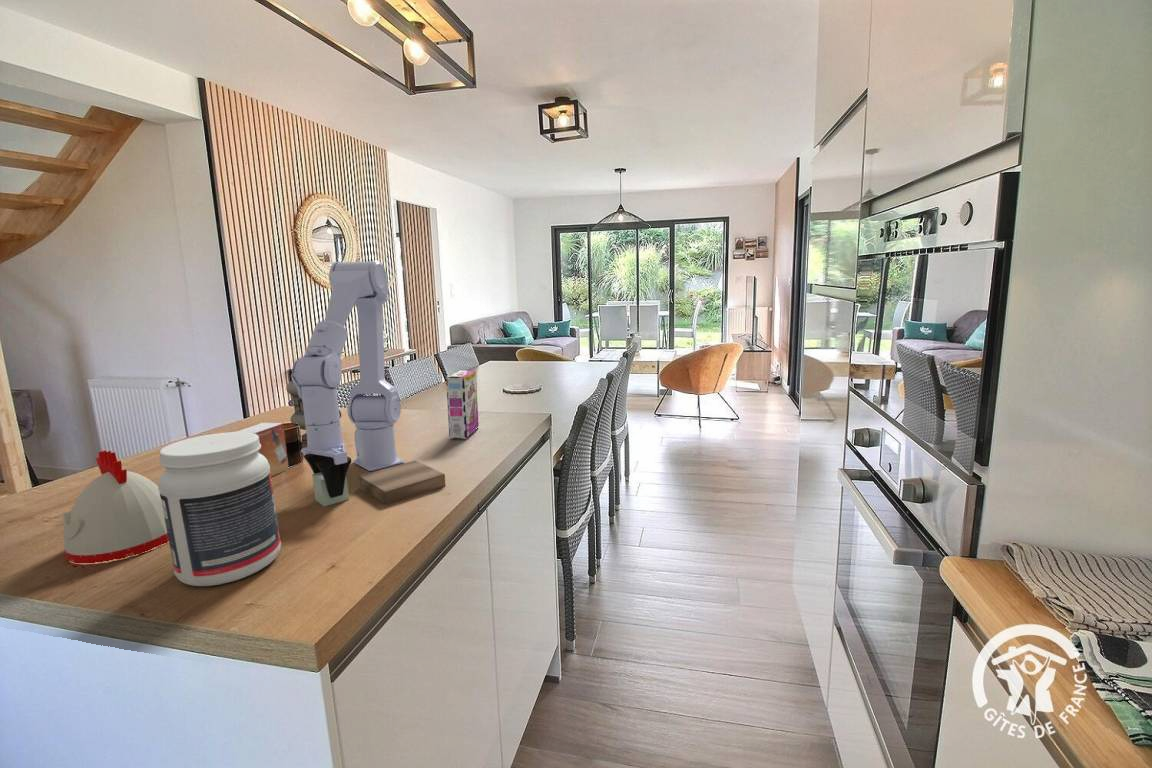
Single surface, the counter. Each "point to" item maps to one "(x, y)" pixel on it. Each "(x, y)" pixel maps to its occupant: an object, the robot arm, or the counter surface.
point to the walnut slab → (401, 481)
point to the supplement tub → (218, 508)
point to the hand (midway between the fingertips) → (331, 492)
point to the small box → (271, 445)
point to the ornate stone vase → (298, 409)
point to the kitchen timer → (114, 516)
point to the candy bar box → (462, 404)
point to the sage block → (323, 494)
